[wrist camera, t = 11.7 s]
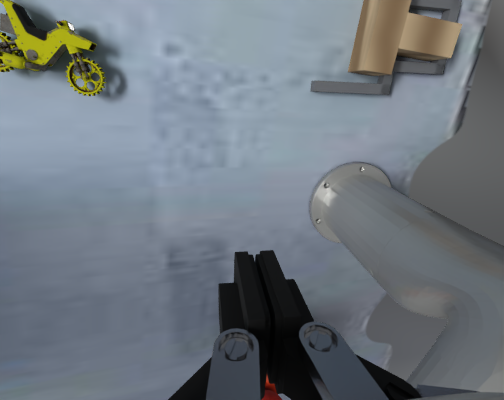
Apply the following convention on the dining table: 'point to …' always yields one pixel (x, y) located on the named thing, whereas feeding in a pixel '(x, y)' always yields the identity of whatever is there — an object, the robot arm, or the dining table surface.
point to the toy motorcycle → (45, 48)
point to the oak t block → (398, 37)
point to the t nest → (449, 5)
